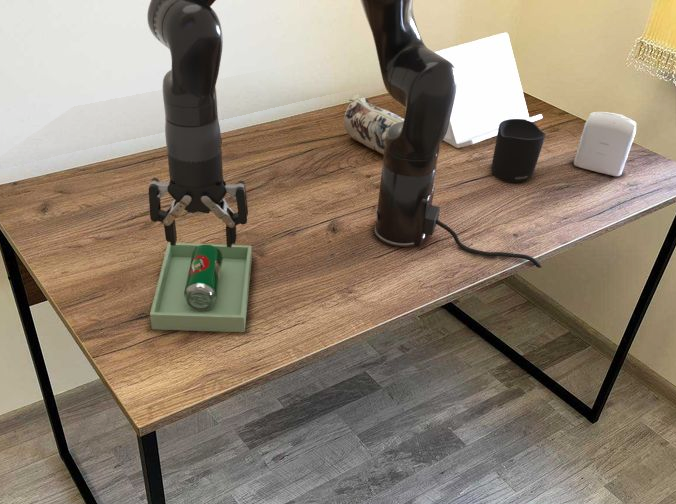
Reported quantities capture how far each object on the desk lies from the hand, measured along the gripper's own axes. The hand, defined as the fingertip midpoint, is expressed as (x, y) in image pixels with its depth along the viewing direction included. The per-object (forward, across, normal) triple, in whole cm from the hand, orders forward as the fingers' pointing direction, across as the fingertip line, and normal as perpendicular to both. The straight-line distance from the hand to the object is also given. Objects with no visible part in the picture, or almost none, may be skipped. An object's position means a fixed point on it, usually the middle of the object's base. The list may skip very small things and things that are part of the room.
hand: (201, 243), depth 114 cm
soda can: (+7, 0, +7) cm, 10 cm away
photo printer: (+11, +79, +48) cm, 93 cm away
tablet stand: (+11, +56, +67) cm, 88 cm away
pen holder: (+11, +60, +45) cm, 75 cm away
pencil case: (+11, +33, +52) cm, 63 cm away
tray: (+10, 0, 0) cm, 10 cm away
